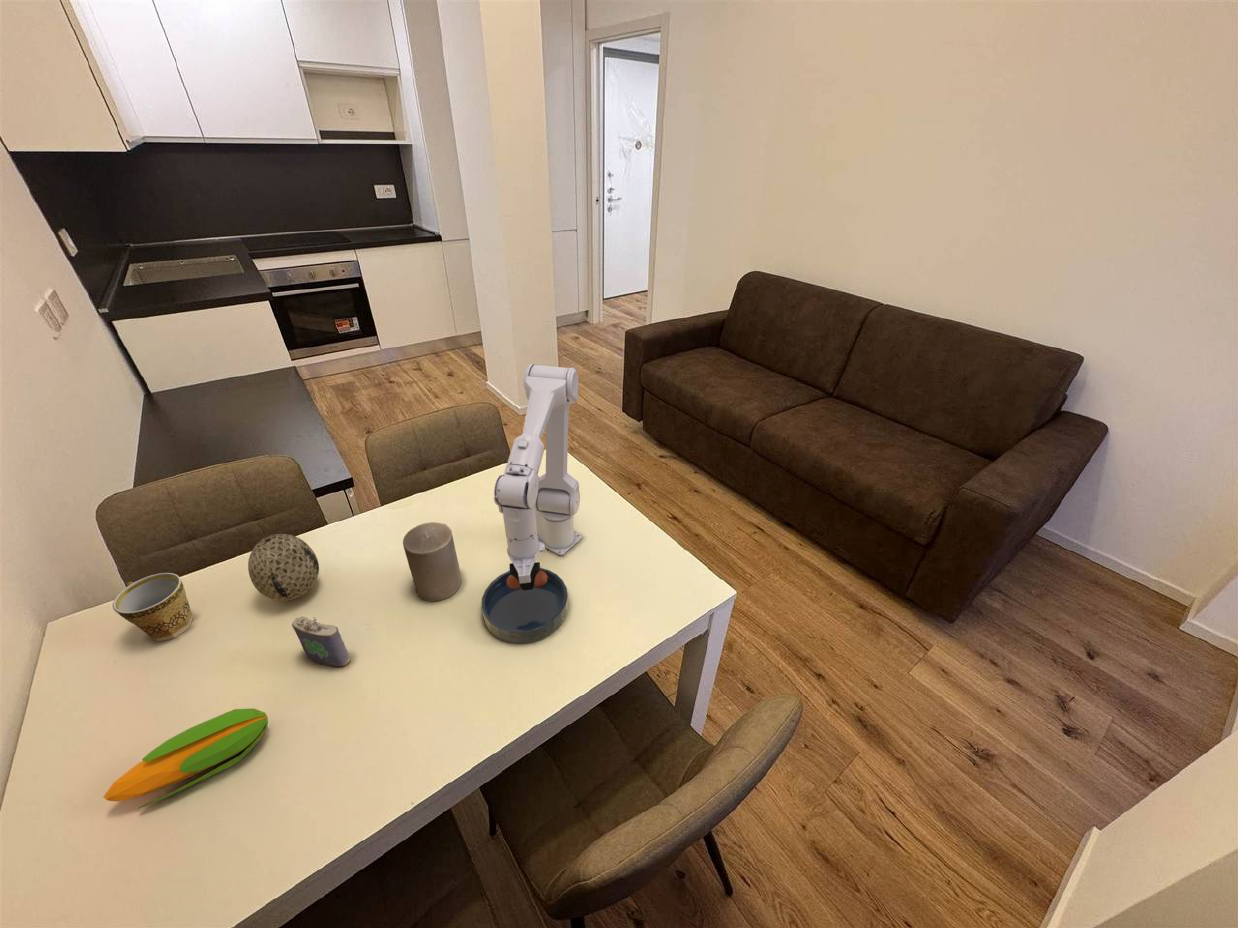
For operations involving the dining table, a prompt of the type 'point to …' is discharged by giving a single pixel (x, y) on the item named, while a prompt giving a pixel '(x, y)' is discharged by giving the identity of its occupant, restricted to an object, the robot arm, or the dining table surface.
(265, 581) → the decorative egg
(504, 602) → the bowl
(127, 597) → the ceramic cup
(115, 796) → the corn
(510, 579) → the sausage
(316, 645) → the flask
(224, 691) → the dining table surface
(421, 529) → the pillar candle
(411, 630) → the dining table surface
